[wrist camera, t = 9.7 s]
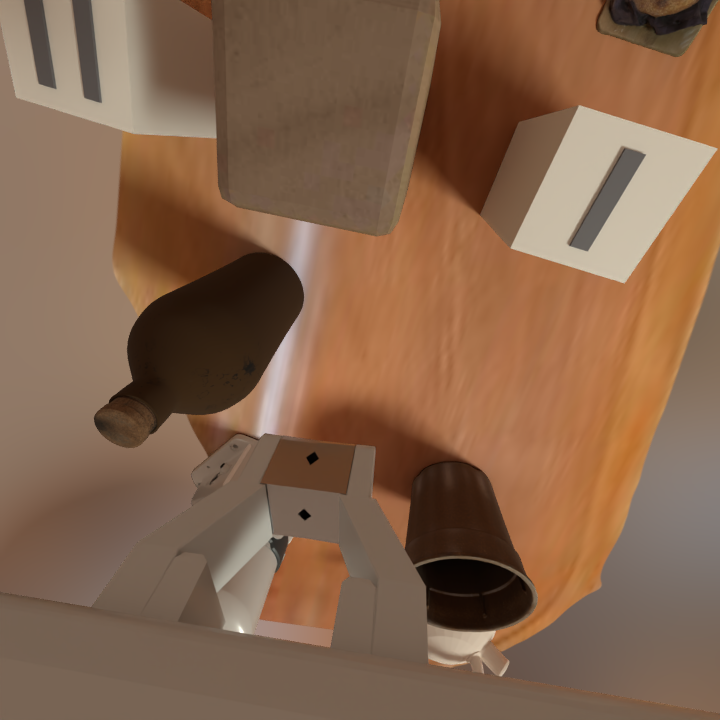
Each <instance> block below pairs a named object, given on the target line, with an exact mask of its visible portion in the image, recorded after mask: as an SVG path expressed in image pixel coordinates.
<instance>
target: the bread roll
mask: <svg viewBox="0 0 720 720" xmlns="http://www.w3.org/2000/svg"><path fill="white" fill-rule="evenodd" d="M717 2H718V0H607V1H606V3H605V5H604V7H603V10H602V13H601V15H600V16H599V18H598V22H597V30H598V32H600V33H601V34H605V35H610V36H613V37H616V38H619V39H622V40H625V41H628V42H631V43H633V44H637V45H641V46H643V47H646V48H649V49H652V50H656V51H658V52H661V53H665V54H668V55H671V56H674V57H678V56H681V55H682V54H684V53H685V51H686V50H687V49H688V48H689V46H690V45H691V43H692V42H693V40H694V39H695V37H696V36H697V34H698V32H699V31H700V29H701V28H702V26H703V25H705V24H707V18H708V16H709V14H710V13H711V11H712V10H713V8H714V6H715V5H716V4H717Z"/></svg>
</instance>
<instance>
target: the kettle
mask: <svg viewBox="0 0 720 720" xmlns="http://www.w3.org/2000/svg"><path fill="white" fill-rule="evenodd" d="M494 634H495V631H489V632H458V631H451V630H446V629H442V628H438V627H434V626H431V625H429V624H427V637H428V658H429V659H431V660H434V661H436V662H439V663H443V664H450V665H453V664H461V663H466V662H467V663H470V664H471V667H472V669H473V672H477V673H483V674H484V671H483V665H482V662H481V660H482V661H483V662H484V663H485V664H486V665H487V666H488V667H489V668H490V669H491V670H492V671H493V672H494V674H495V675H496V676H502V675H503V673H504V672H505V670H506V669H507V667H508V664H509V660H507V659H506V658H505V657H504V656H503V655H502V653H501V652H500V651H499V650H498V649H497V648H496V647H495V646H494V644H493V643H492V642H491V640H492V638H493V637H494Z"/></svg>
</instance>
